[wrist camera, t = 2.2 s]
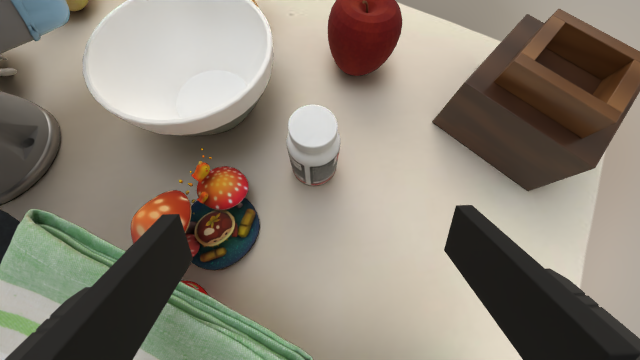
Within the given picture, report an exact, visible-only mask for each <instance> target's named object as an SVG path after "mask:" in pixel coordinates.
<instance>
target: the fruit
mask: <svg viewBox="0 0 640 360" xmlns="http://www.w3.org/2000/svg"><path fill="white" fill-rule="evenodd" d="M66 2H67V4H68V7H69V11H78V10H81V9H83V8H84V7H85V6H86V5H87V3H88V0H66Z"/></svg>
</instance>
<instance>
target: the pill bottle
mask: <svg viewBox="0 0 640 360" xmlns="http://www.w3.org/2000/svg"><path fill="white" fill-rule="evenodd" d="M288 131H289V132H288V135H287V149H288V153H289V157H290V161H291V165H292V169H293V172H294V174H295V176H296V177H297V178H298V179H299V180H300V181H301V182H303V183H305V184H307V185H313V186H316V185H321V184H324V183H326V182H327V181H329V180H330V179H331V178H332V176H333V175H334V173H335V170H336V165H337V160H338V155H339V150H340V135H339V132H338V124H337V120H336V117H335V116H334V114H333V113H332V112H331V111H330V110H329V109H327V108H325V107H323V106H320V105H306V106H302V107H300V108H299V109H297V110H296V111H295V112H294V113H293V114H292V115H291V117H290V119H289V122H288Z"/></svg>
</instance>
